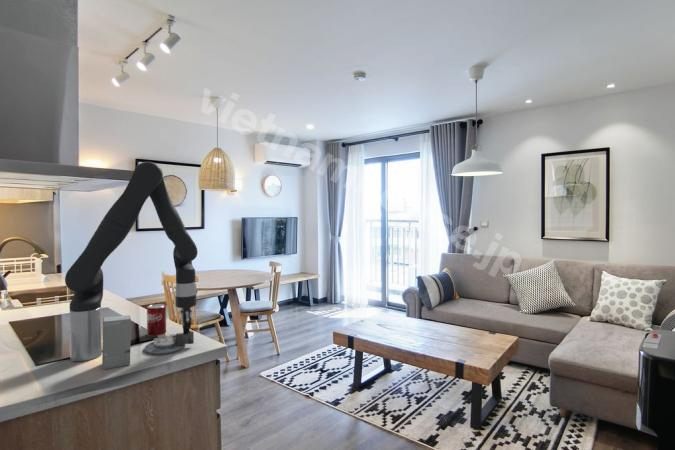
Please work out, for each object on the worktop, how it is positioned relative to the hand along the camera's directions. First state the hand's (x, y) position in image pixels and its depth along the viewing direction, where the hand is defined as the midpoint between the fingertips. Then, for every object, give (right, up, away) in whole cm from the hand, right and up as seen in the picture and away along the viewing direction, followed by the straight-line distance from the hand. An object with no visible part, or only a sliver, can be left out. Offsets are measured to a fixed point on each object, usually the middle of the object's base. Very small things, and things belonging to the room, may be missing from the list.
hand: (186, 337), depth 147 cm
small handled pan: (-3, -1, -4) cm, 5 cm away
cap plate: (-6, -3, -4) cm, 8 cm away
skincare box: (-16, -3, -19) cm, 25 cm away
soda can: (-17, -2, +12) cm, 21 cm away
